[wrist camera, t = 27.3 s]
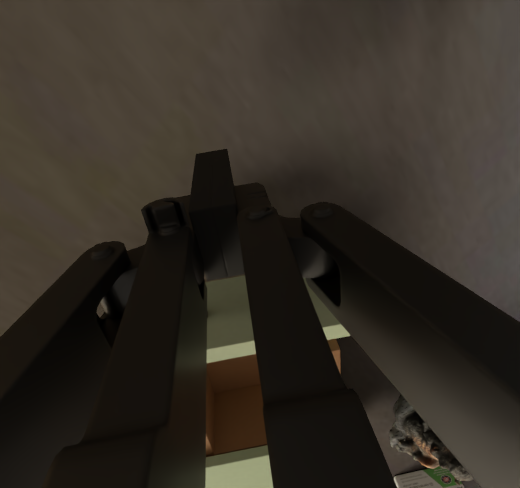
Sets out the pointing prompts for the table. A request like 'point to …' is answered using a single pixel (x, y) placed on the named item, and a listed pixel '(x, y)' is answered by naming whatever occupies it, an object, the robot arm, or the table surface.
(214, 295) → the drawer
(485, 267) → the table surface
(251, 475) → the cabinet
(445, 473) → the ink box
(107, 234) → the table surface
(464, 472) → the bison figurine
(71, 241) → the table surface
